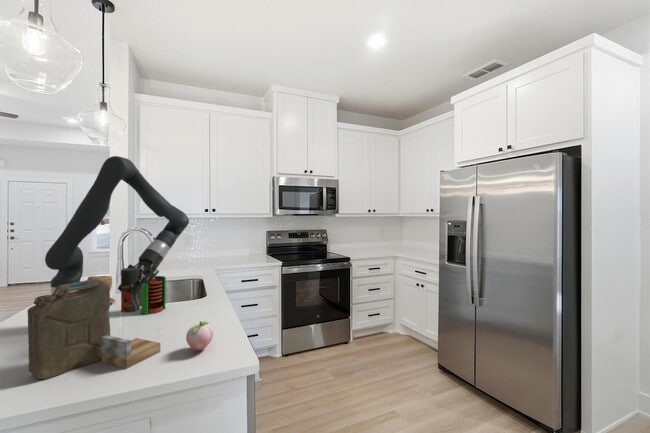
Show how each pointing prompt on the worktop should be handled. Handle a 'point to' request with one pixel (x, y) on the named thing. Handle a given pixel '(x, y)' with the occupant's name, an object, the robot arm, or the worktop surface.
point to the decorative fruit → (199, 335)
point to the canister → (68, 327)
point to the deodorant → (129, 290)
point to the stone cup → (106, 279)
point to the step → (127, 351)
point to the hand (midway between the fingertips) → (126, 291)
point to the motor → (153, 296)
